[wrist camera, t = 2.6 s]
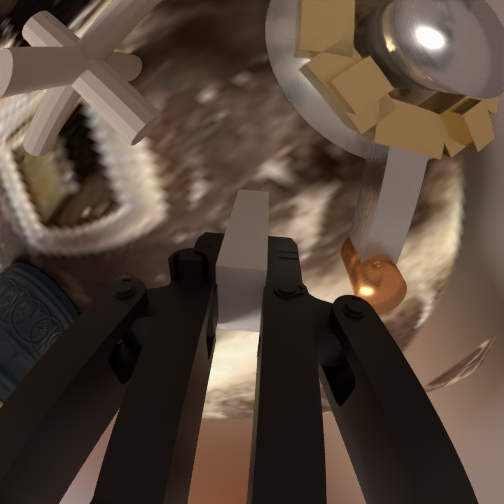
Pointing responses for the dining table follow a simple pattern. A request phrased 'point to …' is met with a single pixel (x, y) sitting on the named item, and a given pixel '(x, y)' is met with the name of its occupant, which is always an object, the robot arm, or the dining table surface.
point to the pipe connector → (80, 74)
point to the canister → (28, 321)
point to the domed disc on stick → (382, 142)
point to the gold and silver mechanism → (397, 56)
